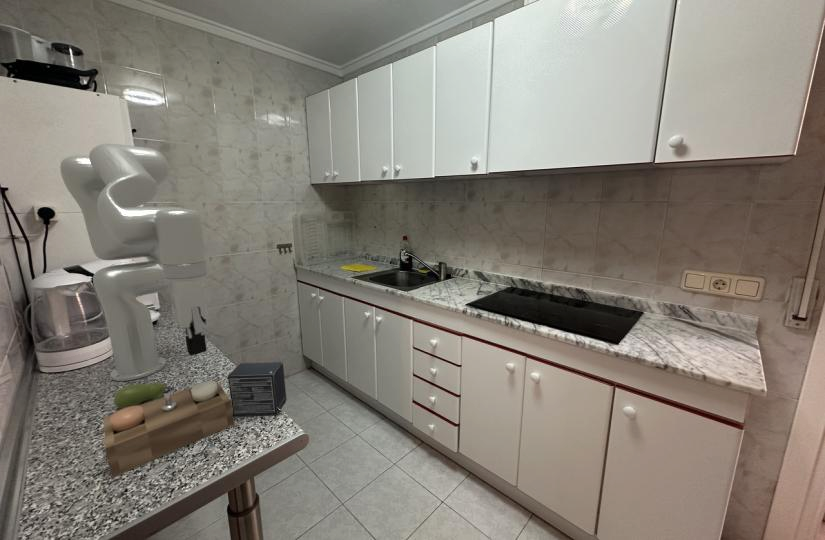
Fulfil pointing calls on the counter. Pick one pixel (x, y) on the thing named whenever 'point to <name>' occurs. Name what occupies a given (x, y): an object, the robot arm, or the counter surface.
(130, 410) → the knob terracotta
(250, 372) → the small box
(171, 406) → the pot stem
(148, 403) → the wooden condiment caddy
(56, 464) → the counter surface
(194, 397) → the knob cream
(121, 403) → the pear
